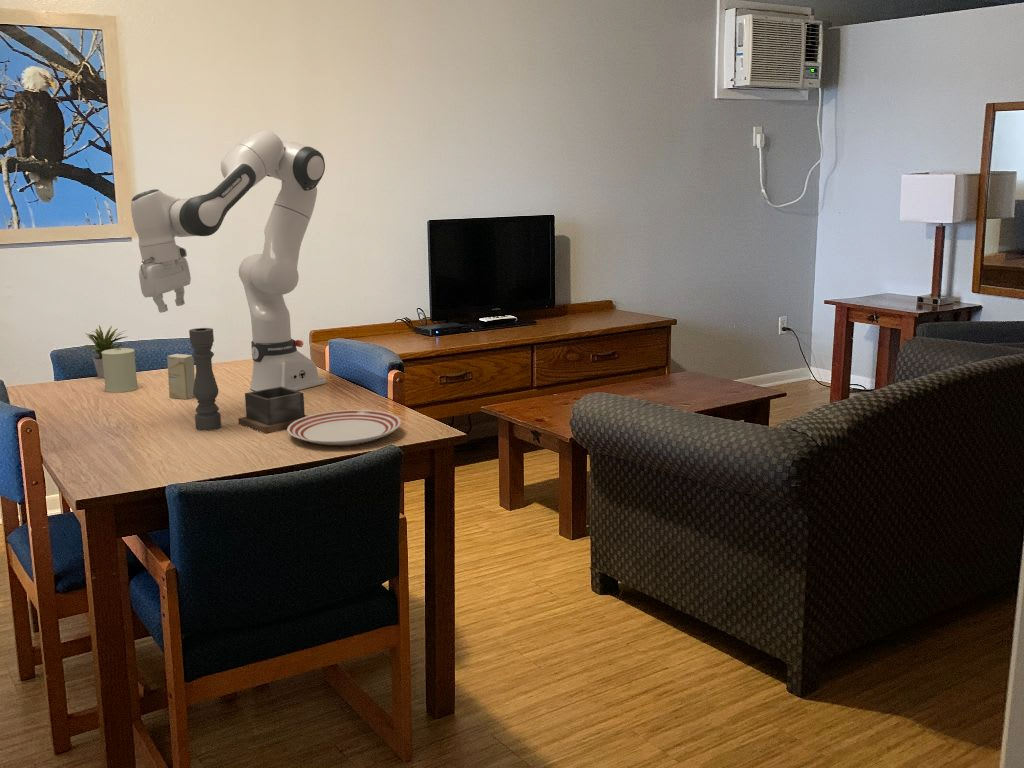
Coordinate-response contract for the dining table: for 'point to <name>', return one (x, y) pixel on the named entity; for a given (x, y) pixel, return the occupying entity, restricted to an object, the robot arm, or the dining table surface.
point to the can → (119, 370)
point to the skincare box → (181, 376)
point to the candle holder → (204, 380)
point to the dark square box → (272, 409)
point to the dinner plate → (344, 427)
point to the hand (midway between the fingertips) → (172, 308)
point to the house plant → (102, 347)
